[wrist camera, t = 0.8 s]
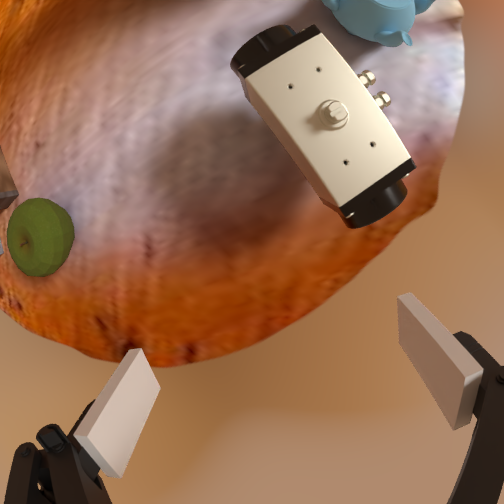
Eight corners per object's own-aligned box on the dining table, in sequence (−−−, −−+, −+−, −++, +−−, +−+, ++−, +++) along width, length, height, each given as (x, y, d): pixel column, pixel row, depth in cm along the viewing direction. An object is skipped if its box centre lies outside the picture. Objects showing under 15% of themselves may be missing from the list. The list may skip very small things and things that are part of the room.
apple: (61, 178, 39) (16, 184, 29) (101, 231, 40) (61, 249, 31) (27, 226, 41) (-14, 241, 31) (64, 276, 43) (25, 300, 33)
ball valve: (377, 175, 37) (451, 184, 20) (323, 212, 38) (367, 247, 21) (294, 59, 33) (312, -12, 16) (238, 95, 35) (216, 41, 18)
